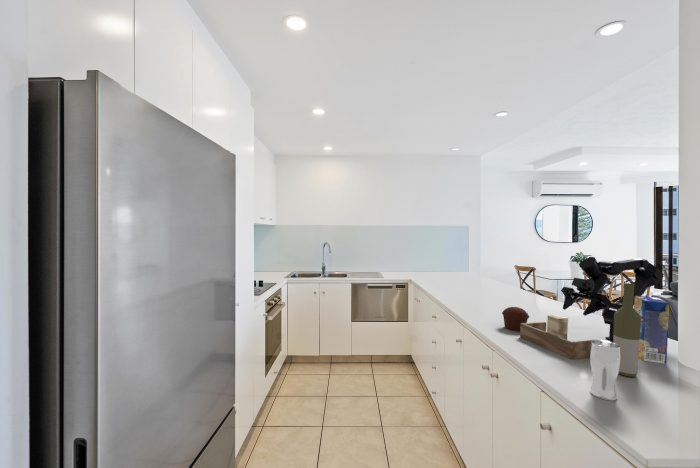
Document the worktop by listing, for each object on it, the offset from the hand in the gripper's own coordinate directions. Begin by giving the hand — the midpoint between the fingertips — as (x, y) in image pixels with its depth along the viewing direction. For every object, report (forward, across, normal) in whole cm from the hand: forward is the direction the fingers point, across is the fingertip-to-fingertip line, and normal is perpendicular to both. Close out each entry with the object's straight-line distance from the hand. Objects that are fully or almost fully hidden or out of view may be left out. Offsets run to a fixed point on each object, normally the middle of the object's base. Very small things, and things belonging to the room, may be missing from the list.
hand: (573, 311), depth 139 cm
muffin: (+15, -23, +4) cm, 28 cm away
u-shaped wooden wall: (+15, 0, +4) cm, 16 cm away
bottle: (+16, +26, +4) cm, 31 cm away
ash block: (+15, 0, +4) cm, 16 cm away
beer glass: (+31, +36, -12) cm, 49 cm away
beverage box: (-2, +17, +22) cm, 28 cm away
